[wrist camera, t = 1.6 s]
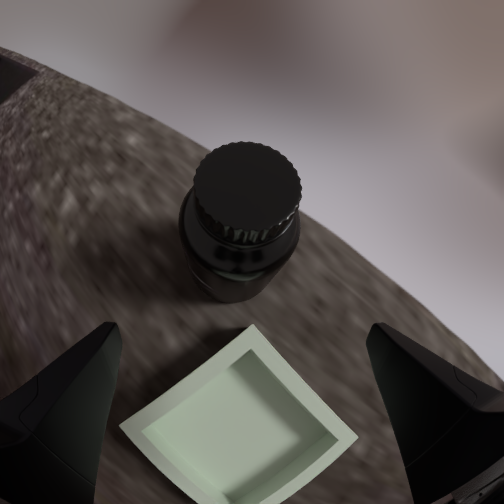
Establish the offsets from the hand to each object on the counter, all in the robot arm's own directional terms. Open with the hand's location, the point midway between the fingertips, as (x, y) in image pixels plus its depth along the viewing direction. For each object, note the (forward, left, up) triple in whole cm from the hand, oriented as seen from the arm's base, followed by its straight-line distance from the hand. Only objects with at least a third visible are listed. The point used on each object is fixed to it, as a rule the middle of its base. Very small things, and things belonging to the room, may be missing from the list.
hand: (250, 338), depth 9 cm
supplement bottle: (+4, +5, -13) cm, 14 cm away
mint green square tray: (-4, -6, -12) cm, 15 cm away
